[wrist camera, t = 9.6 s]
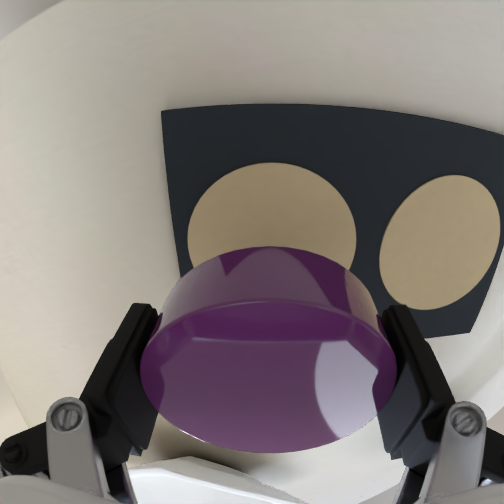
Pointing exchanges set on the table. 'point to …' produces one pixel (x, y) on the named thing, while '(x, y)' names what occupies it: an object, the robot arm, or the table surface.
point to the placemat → (345, 198)
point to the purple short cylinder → (269, 352)
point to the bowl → (200, 484)
